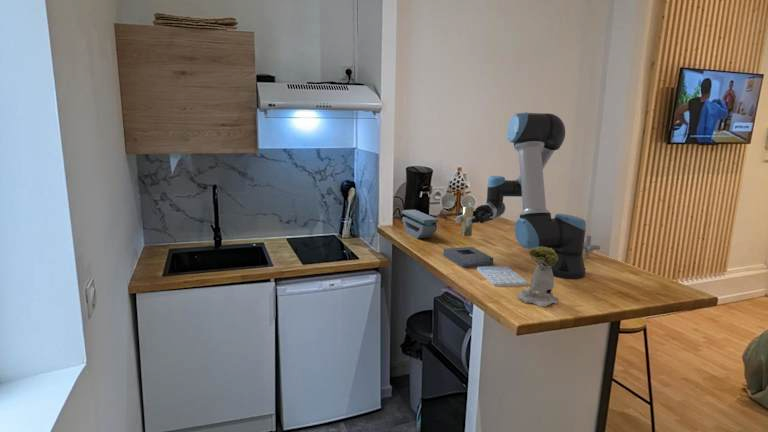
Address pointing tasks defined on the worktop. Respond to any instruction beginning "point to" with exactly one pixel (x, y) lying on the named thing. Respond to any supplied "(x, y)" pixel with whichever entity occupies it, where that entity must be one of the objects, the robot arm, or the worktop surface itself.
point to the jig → (468, 257)
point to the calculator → (502, 276)
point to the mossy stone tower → (541, 278)
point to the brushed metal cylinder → (466, 214)
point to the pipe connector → (589, 247)
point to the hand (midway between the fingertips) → (461, 221)
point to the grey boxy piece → (419, 224)
